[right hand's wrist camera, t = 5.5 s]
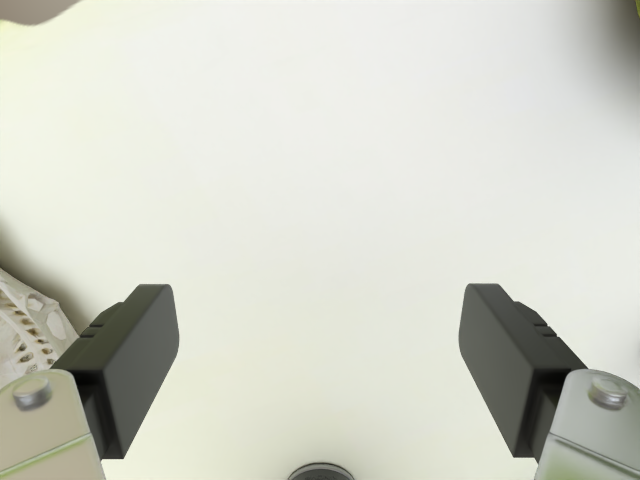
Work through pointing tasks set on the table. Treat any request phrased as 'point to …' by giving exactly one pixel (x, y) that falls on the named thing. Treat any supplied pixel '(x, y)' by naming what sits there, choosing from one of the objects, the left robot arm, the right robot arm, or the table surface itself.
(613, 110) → the table surface
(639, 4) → the vegetable
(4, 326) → the anatomical model
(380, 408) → the table surface
